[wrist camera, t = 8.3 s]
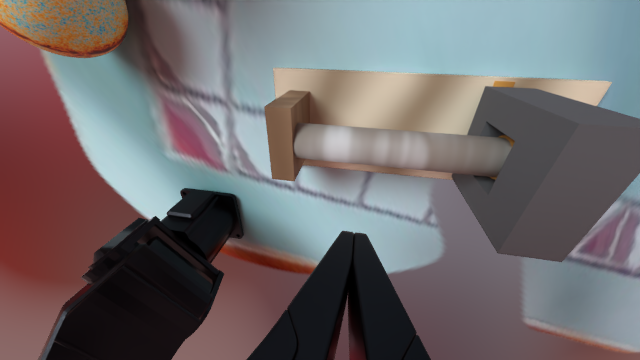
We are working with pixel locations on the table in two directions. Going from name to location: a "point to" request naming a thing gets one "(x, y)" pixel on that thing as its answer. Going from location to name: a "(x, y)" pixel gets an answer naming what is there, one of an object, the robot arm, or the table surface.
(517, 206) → the grey sliding block
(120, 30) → the ball
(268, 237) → the table surface
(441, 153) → the pipe stand
